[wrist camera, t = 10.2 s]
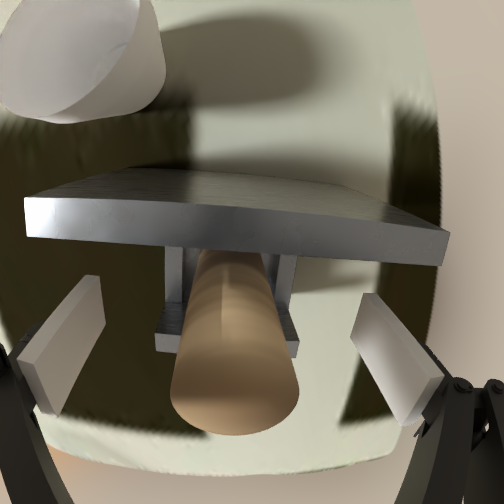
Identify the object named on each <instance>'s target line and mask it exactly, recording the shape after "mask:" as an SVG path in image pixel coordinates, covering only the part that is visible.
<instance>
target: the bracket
mask: <svg viewBox="0 0 504 504" xmlns="http://www.w3.org/2000/svg"><path fill="white" fill-rule="evenodd" d="M24 200H25V216H26V228H27V236H31V237H45V238H59V239H73V240H86V241H100V242H114V243H128V244H141V245H155V246H165V300H166V302H165V305H164V308H163V311H162V314H161V317H160V319H159V322H158V325H157V328H156V331H155V342H156V351H162V352H172V353H178V348H179V343H180V339H181V334H182V329H183V325H184V320H185V315H186V311H187V306H188V302H189V298H190V293H191V289H192V285H193V280H194V276H195V272H196V268H197V264H198V259H199V255H200V251H201V249H210V250H224V251H238V252H252V253H260V254H261V258H262V261H263V264H264V268H265V271H266V275H267V278H268V281H269V285H270V288H271V292H272V295H273V298H274V302H275V305H276V309H277V312H278V315H279V319H280V322H281V326H282V329H283V333H284V336H285V340H286V343H287V346H288V350H289V353H290V357H291V358H296V355H297V351H298V346H299V342H300V341H299V338H298V335H297V332H296V330H295V327H294V324H293V321H292V319H291V316H290V313H289V310H288V309H289V303H290V297H291V292H292V286H293V280H294V274H295V268H296V262H297V256H308V257H322V258H335V259H349V260H363V261H377V262H391V263H405V264H419V265H433V266H442V263H443V259H444V256H445V251H446V248H447V244H448V240H449V236H450V232H448V231H446V230H444V229H442V228H440V227H438V226H436V225H434V224H432V223H429V222H427V221H425V220H423V219H421V218H419V217H416V216H414V215H412V214H410V213H407V212H405V211H403V210H401V209H398V208H396V207H394V206H391V205H389V204H387V203H384V202H382V201H379V200H377V199H375V198H372V197H370V196H367V195H365V194H362V193H360V192H357V191H355V190H352V189H349V188H347V187H344V186H339V185H332V184H325V183H318V182H311V181H303V180H295V179H286V178H278V177H269V176H259V175H249V174H237V173H225V172H212V171H197V170H179V169H156V168H123V169H119V170H115V171H111V172H108V173H104V174H100V175H96V176H93V177H89V178H86V179H82V180H79V181H75V182H72V183H68V184H65V185H62V186H59V187H55V188H52V189H49V190H46V191H43V192H40V193H37V194H34V195H31V196H29V197H26V198H24Z"/></svg>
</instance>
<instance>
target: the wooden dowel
mask: <svg viewBox="0 0 504 504" xmlns="http://www.w3.org/2000/svg"><path fill="white" fill-rule="evenodd" d="M170 396H171V401H172V404H173V406H174V408H175V409H176V411H177V412H178V414H179V415H180V416H181V417H182V418H183V419H184V420H186V421H187V422H188V423H190V424H192V425H193V426H195V427H197V428H199V429H202V430H204V431H207V432H211V433H215V434H221V435H247V434H253V433H257V432H261V431H264V430H266V429H269V428H271V427H273V426H275V425H277V424H278V423H280V422H281V421H283V420H284V419H285V418H286V417H287V416H288V415H289V414H290V413H291V412H292V411H293V409H294V408H295V406H296V404H297V401H298V398H299V385H298V381H297V378H296V374H295V371H294V367H293V364H292V360H291V357H290V353H289V350H288V346H287V343H286V340H285V336H284V333H283V329H282V326H281V322H280V319H279V315H278V312H277V309H276V305H275V302H274V298H273V295H272V292H271V288H270V285H269V281H268V278H267V275H266V271H265V268H264V264H263V261H262V258H261V254H260V253H252V252H238V251H224V250H210V249H201V251H200V255H199V259H198V264H197V268H196V272H195V276H194V280H193V285H192V289H191V293H190V298H189V302H188V306H187V311H186V315H185V320H184V325H183V329H182V334H181V339H180V343H179V348H178V353H177V358H176V363H175V368H174V373H173V378H172V384H171V389H170Z"/></svg>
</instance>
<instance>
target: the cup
mask: <svg viewBox="0 0 504 504" xmlns="http://www.w3.org/2000/svg"><path fill="white" fill-rule="evenodd" d="M165 77H166V64H165V59H164V54H163V48H162V43H161V38H160V32H159V27H158V22H157V17H156V14H155V11H154V8H153V6H152V4H151V2H150V0H23V1H22V2H21V3H20V5H19V6H18V7H17V8H16V10H15V11H14V12H13V14H12V15H11V17H10V18H9V20H8V22H7V23H6V25H5V27H4V29H3V31H2V33H1V36H0V101H1V102H2V104H3V105H4V106H5V107H6V108H7V109H8V110H9V111H11V112H12V113H14V114H16V115H19V116H22V117H26V118H34V119H40V120H45V121H48V122H53V123H76V122H82V121H87V120H93V119H99V118H105V117H112V116H119V115H126V114H131V113H134V112H137V111H139V110H141V109H143V108H144V107H146V106H147V105H148V104H150V103H151V102H152V101H153V100H154V99H155V98H156V96H157V95H158V94H159V92H160V90H161V89H162V87H163V84H164V81H165Z"/></svg>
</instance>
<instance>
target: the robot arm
mask: <svg viewBox="0 0 504 504" xmlns="http://www.w3.org/2000/svg"><path fill="white" fill-rule="evenodd" d="M105 324H106V322H105V316H104V309H103V302H102V295H101V286H100V277H99V276H92V275H85V276H84V277H83V279H82V280H81V281H80V282H79V283H78V284H77V285H76V286H75V287H74V289H73V290H72V291H71V292H70V293H69V294H68V295H67V297H66V298H65V299H64V300H63V301H62V302H61V304H60V305H59V306H58V307H57V308H56V309H55V311H54V312H53V313H52V314H51V315H50V317H49V318H48V319H47V320H46V322H42V321H39V322H38V323H36V324H35V325H33V326H31V327H30V329H29V330H28V331H27V332H26V333H25V336H23V337H22V338H21V340H20V341H19V342H18V343H17V345H16V346H15V347H14V348H13V350H12V351H11V352H10V354H9V355H8V356H7V354H6V351H5V349H4V346H3V345H2V344H1V343H0V470H1V473H2V476H3V479H4V482H5V486H6V488H7V492H8V494H9V497H10V500H11V503H12V504H74V503H73V500H72V499H71V497H70V495H69V493H68V491H67V489H66V487H65V485H64V483H63V481H62V479H61V477H60V475H59V473H58V471H57V469H56V466H55V464H54V462H53V460H52V457H51V455H50V453H49V450H48V448H47V445H46V443H45V440H44V438H43V435H42V432H41V430H40V427H39V424H38V421H37V418H36V415H35V413H34V412H33V409H34V407H35V405H36V403H37V405H38V407H39V409H40V411H41V413H42V414H46V415H49V416H52V417H55V418H58V417H59V414H60V412H61V410H62V408H63V406H64V403H65V401H66V399H67V397H68V395H69V393H70V391H71V389H72V387H73V385H74V383H75V381H76V379H77V377H78V375H79V373H80V371H81V369H82V367H83V365H84V363H85V361H86V359H87V357H88V355H89V353H90V352H91V350H92V348H93V346H94V344H95V342H96V340H97V339H98V337H99V335H100V333H101V331H102V330H103V328H104V326H105ZM350 338H351V339H352V341H353V343H354V344H355V346H356V348H357V350H358V351H359V353H360V355H361V357H362V358H363V360H364V362H365V364H366V365H367V367H368V369H369V371H370V372H371V374H372V376H373V378H374V380H375V381H376V383H377V385H378V387H379V389H380V390H381V392H382V394H383V396H384V398H385V399H386V401H387V403H388V405H389V407H390V409H391V410H392V412H393V414H394V416H395V418H396V420H397V422H398V423H399V425H400V427H404V426H408V425H412V424H415V423H416V421H417V420H418V418H419V417H420V415H421V414H422V415H423V417H424V419H425V420H424V422H423V423H422V425H421V426H420V427H419V429H418V430H417V432H416V433H415V434H414V437H416V436H417V435H418V434H419V435H418V439H417V442H416V445H415V449H414V452H413V455H412V458H411V461H410V464H409V467H408V470H407V473H406V475H405V478H404V481H403V483H402V486H401V488H400V491H399V493H398V496H397V498H396V501H395V503H394V504H462V500H463V495H464V504H504V383H503V382H502V381H500V380H496V379H490V380H488V381H487V383H486V384H485V386H484V388H474V387H473V386H472V384H471V383H470V382H468V381H467V380H465V379H463V378H459V377H454V378H453V377H452V376H451V374H450V373H449V372H448V371H447V370H446V368H445V367H444V366H443V365H442V363H441V362H440V361H439V360H437V357H436V356H435V355H434V354H433V352H432V351H431V350H430V349H429V347H428V346H427V345H425V344H424V343H422V342H421V341H419V340H416V339H415V338H414V337H413V336H412V334H411V333H410V332H409V331H408V330H407V329H406V327H405V326H404V325H403V324H402V323H401V321H400V320H399V319H398V318H397V317H396V316H395V314H394V313H393V312H392V311H391V310H390V309H389V308H388V306H387V305H386V304H385V303H384V302H383V301H382V300H381V298H380V297H379V296H378V295H377V294H376V293H363V296H362V300H361V303H360V307H359V310H358V314H357V317H356V320H355V323H354V327H353V330H352V333H351V336H350ZM488 423H489V429H488V431H487V432H486V430H485V426H486V425H487V424H488Z"/></svg>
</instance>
